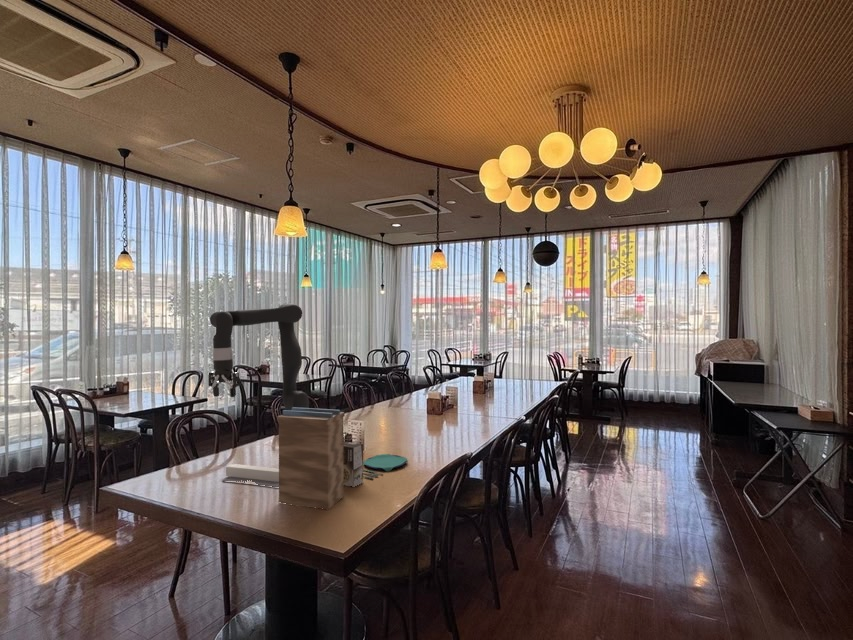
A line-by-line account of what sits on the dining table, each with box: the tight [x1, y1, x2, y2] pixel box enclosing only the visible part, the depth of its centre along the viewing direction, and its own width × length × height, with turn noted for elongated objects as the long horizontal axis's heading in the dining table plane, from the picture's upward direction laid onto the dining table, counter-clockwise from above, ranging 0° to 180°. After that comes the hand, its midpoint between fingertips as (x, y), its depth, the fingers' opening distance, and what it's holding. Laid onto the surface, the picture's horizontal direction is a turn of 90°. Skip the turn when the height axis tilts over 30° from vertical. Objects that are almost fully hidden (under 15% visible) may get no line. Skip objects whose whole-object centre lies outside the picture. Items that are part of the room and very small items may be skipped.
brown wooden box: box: [276, 407, 346, 510], centre depth 166 cm, size 14×20×34 cm
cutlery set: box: [363, 453, 409, 480], centre depth 204 cm, size 20×30×2 cm, turn 148°
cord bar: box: [225, 463, 279, 482], centre depth 190 cm, size 4×26×4 cm, turn 74°
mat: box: [222, 476, 279, 487], centre depth 188 cm, size 14×30×1 cm, turn 74°
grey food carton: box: [343, 441, 364, 488], centre depth 184 cm, size 9×6×16 cm
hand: (224, 396), depth 189 cm, fingers open, 8 cm apart
